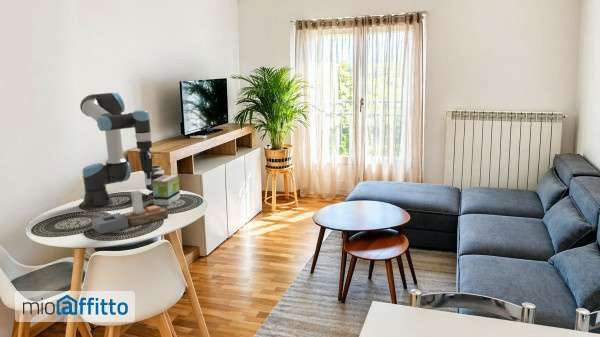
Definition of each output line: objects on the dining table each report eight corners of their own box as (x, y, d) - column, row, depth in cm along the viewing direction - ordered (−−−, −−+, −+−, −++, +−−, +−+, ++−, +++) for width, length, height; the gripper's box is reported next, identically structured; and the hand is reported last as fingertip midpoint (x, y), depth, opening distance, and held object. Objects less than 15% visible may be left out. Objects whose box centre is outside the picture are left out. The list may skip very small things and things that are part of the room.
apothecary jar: (156, 198, 296) (153, 169, 292) (142, 195, 302) (139, 167, 298) (170, 193, 306) (168, 165, 302) (157, 191, 312) (154, 163, 308)
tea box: (169, 205, 279) (167, 180, 276) (153, 205, 281) (151, 180, 278) (180, 198, 294) (178, 174, 290) (165, 197, 296) (163, 174, 292)
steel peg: (134, 220, 254) (130, 191, 251) (141, 219, 257) (138, 190, 253) (137, 222, 251) (133, 193, 248) (144, 220, 254) (141, 191, 250)
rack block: (92, 228, 245) (91, 219, 244) (120, 221, 253) (118, 212, 252) (100, 234, 236) (99, 224, 235) (128, 227, 244) (127, 218, 243)
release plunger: (147, 216, 259) (146, 207, 258) (156, 214, 262) (155, 205, 261) (151, 218, 255) (150, 209, 254) (160, 216, 258) (159, 207, 257)
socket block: (122, 221, 254) (122, 213, 253) (158, 212, 267) (158, 205, 266) (131, 226, 245) (130, 219, 244) (168, 217, 258) (167, 210, 257)
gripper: (131, 140, 251) (136, 183, 257) (141, 142, 242) (146, 188, 247) (145, 138, 256) (150, 180, 261) (156, 140, 246) (160, 185, 252)
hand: (148, 184), depth 254 cm, fingers closed
